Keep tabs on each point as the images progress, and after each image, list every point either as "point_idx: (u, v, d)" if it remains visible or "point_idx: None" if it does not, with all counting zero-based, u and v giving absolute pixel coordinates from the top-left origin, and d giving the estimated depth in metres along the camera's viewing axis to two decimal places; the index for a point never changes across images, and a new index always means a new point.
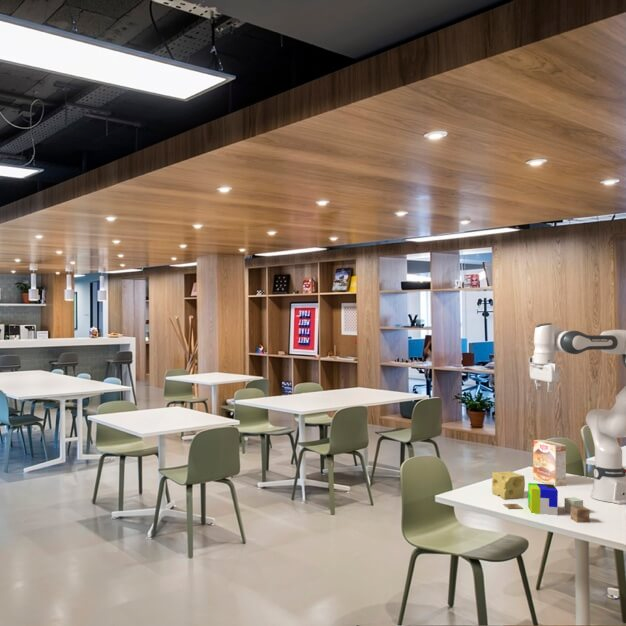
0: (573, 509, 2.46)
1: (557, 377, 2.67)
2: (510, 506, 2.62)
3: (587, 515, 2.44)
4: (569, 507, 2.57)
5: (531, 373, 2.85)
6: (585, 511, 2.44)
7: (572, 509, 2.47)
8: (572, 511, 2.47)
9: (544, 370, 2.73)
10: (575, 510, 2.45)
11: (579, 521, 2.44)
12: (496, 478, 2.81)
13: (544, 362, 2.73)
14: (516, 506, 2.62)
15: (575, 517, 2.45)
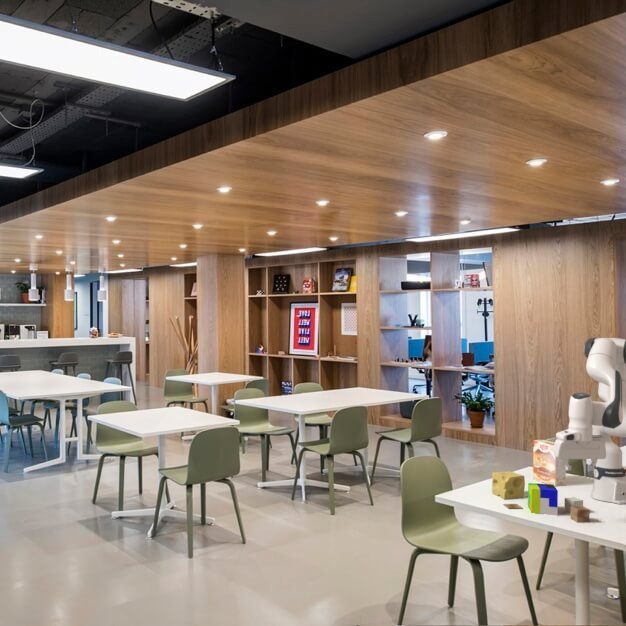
0: (573, 509, 2.46)
1: None
2: (510, 506, 2.62)
3: (587, 515, 2.44)
4: (569, 507, 2.57)
5: (562, 452, 2.44)
6: (585, 511, 2.44)
7: (572, 509, 2.47)
8: (572, 511, 2.47)
9: (589, 447, 2.46)
10: (575, 510, 2.45)
11: (579, 521, 2.44)
12: (496, 478, 2.81)
13: (592, 438, 2.46)
14: (516, 506, 2.62)
15: (575, 517, 2.45)
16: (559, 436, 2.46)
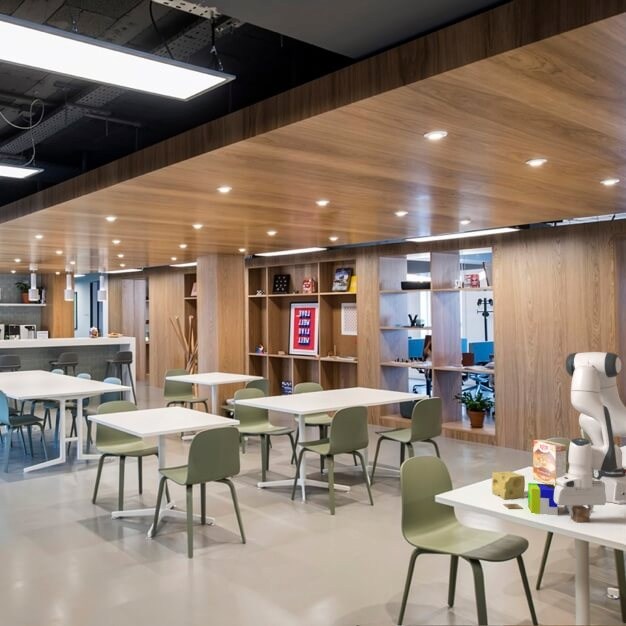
0: (573, 509, 2.46)
1: None
2: (510, 506, 2.62)
3: (587, 515, 2.44)
4: None
5: (562, 499, 2.44)
6: (585, 511, 2.44)
7: (572, 509, 2.47)
8: None
9: (589, 493, 2.45)
10: (575, 510, 2.45)
11: (579, 521, 2.44)
12: (496, 478, 2.81)
13: None
14: (516, 506, 2.62)
15: (575, 517, 2.45)
16: (559, 482, 2.45)
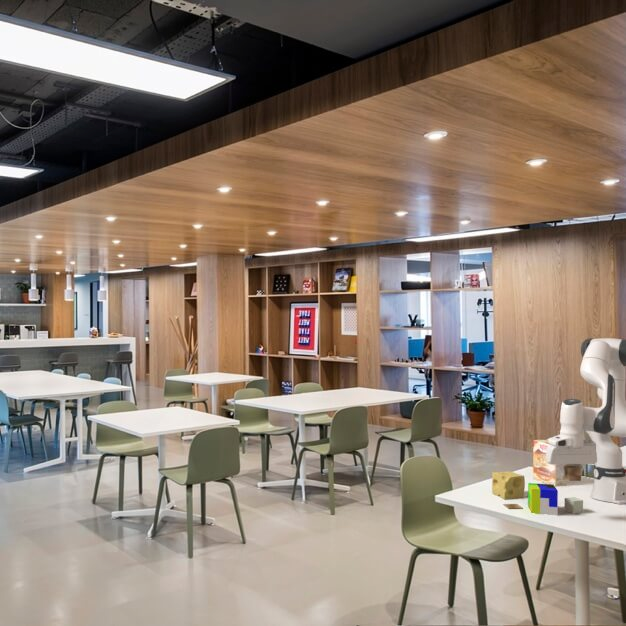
0: (565, 468, 2.49)
1: None
2: (510, 506, 2.62)
3: (579, 473, 2.47)
4: (569, 507, 2.57)
5: (554, 458, 2.47)
6: (577, 469, 2.47)
7: (564, 468, 2.50)
8: None
9: (580, 452, 2.48)
10: (567, 469, 2.48)
11: (571, 479, 2.47)
12: (496, 478, 2.81)
13: (583, 443, 2.48)
14: (516, 506, 2.62)
15: (567, 476, 2.48)
16: (551, 442, 2.48)
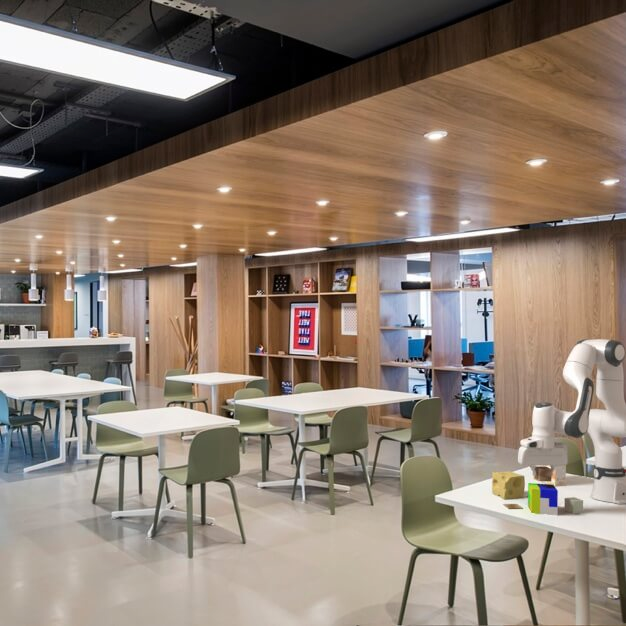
0: (536, 469, 2.58)
1: None
2: (510, 506, 2.62)
3: (549, 474, 2.56)
4: (569, 507, 2.57)
5: (526, 459, 2.56)
6: (547, 470, 2.56)
7: (535, 469, 2.59)
8: None
9: (551, 454, 2.57)
10: (538, 470, 2.57)
11: (541, 480, 2.56)
12: (496, 478, 2.81)
13: (554, 445, 2.57)
14: (516, 506, 2.62)
15: (538, 476, 2.57)
16: (523, 443, 2.57)
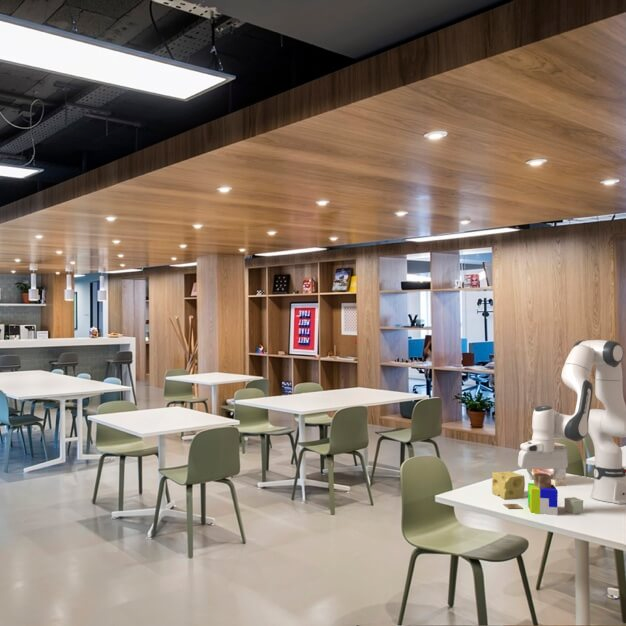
0: (536, 476, 2.58)
1: None
2: (510, 506, 2.62)
3: (549, 481, 2.56)
4: (569, 507, 2.57)
5: (526, 463, 2.56)
6: (547, 477, 2.56)
7: (535, 476, 2.59)
8: (535, 478, 2.59)
9: (551, 457, 2.57)
10: (538, 477, 2.57)
11: (541, 487, 2.56)
12: (496, 478, 2.81)
13: (554, 448, 2.57)
14: (516, 506, 2.62)
15: (538, 483, 2.57)
16: (523, 447, 2.57)
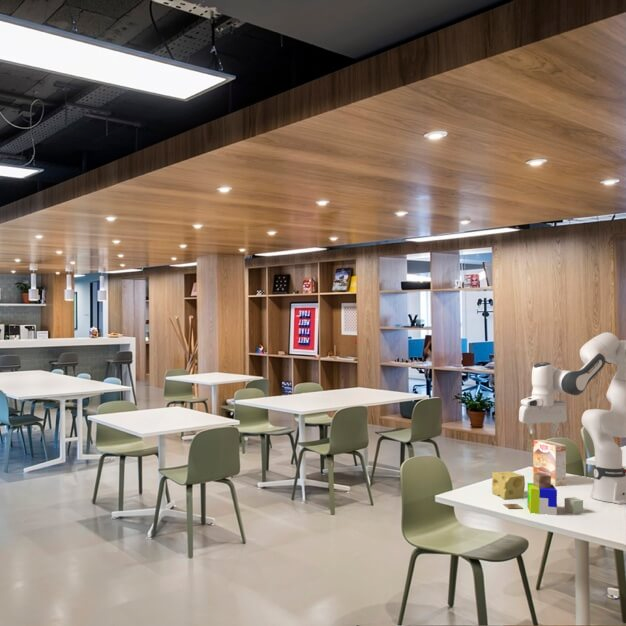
0: (535, 476, 2.59)
1: None
2: (510, 506, 2.62)
3: (548, 481, 2.56)
4: (569, 507, 2.57)
5: (526, 417, 2.64)
6: (547, 477, 2.56)
7: (535, 476, 2.59)
8: (535, 478, 2.59)
9: (551, 411, 2.66)
10: (537, 476, 2.57)
11: (541, 487, 2.56)
12: (496, 478, 2.81)
13: (553, 403, 2.66)
14: (516, 506, 2.62)
15: (537, 483, 2.57)
16: (523, 402, 2.66)
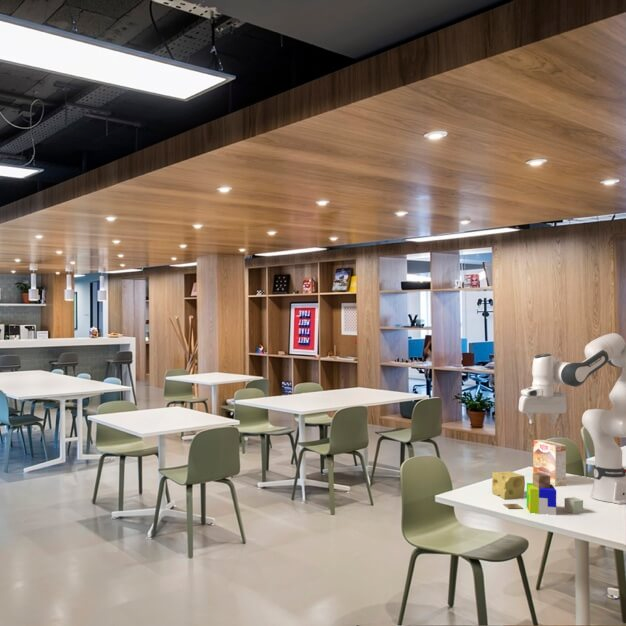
0: (535, 476, 2.59)
1: None
2: (510, 506, 2.62)
3: (548, 481, 2.56)
4: (569, 507, 2.57)
5: (526, 407, 2.68)
6: (546, 477, 2.56)
7: (534, 476, 2.59)
8: (534, 478, 2.59)
9: (551, 402, 2.69)
10: (537, 476, 2.57)
11: (540, 487, 2.56)
12: (496, 478, 2.81)
13: (553, 394, 2.69)
14: (516, 506, 2.62)
15: (537, 483, 2.57)
16: (523, 392, 2.69)
